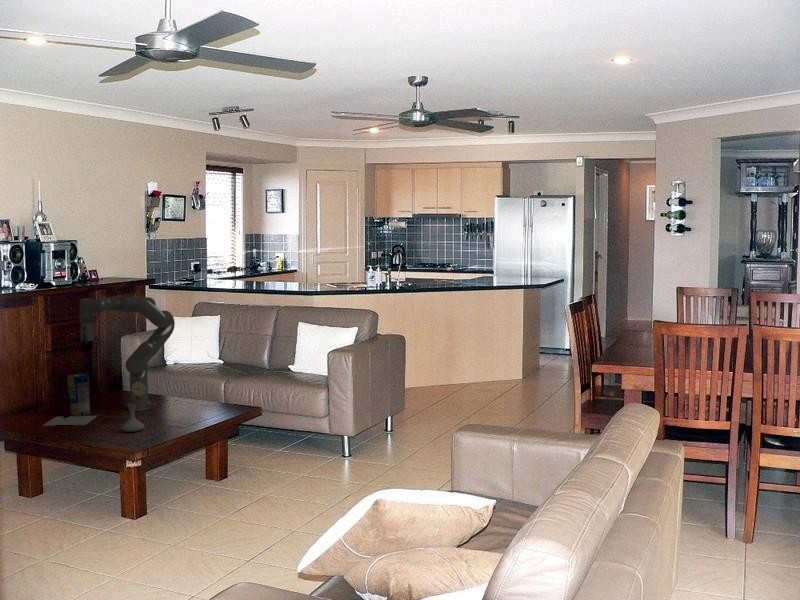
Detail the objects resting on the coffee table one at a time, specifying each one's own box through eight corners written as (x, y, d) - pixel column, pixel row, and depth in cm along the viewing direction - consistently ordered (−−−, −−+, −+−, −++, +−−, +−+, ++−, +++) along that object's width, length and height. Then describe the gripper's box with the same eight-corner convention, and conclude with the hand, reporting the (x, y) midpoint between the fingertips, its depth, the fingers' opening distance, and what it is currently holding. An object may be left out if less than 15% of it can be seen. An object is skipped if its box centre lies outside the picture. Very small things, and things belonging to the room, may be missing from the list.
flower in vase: (122, 434, 419) (120, 385, 417) (120, 429, 430) (117, 381, 427) (149, 431, 424) (147, 382, 422) (146, 426, 435) (144, 379, 433)
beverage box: (78, 416, 458) (76, 376, 456) (68, 414, 465) (67, 374, 464) (90, 414, 463) (88, 374, 461) (80, 412, 470) (79, 373, 469)
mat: (97, 416, 459) (97, 415, 459) (85, 425, 439) (85, 424, 439) (56, 417, 458) (56, 416, 458) (42, 426, 438) (42, 425, 438)
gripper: (88, 322, 461) (88, 353, 463) (98, 318, 478) (98, 348, 480) (74, 322, 461) (74, 353, 462) (85, 318, 478) (85, 348, 479)
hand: (86, 350), depth 471 cm, fingers open, 9 cm apart
